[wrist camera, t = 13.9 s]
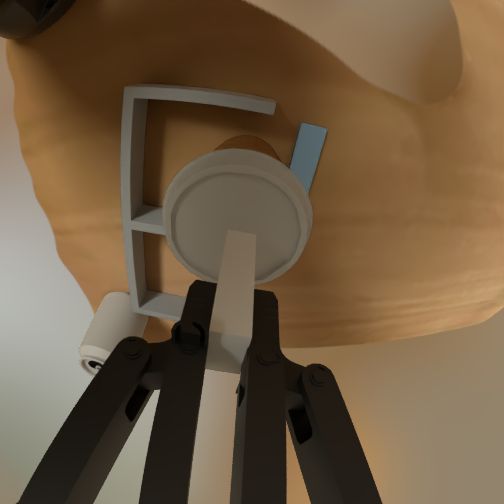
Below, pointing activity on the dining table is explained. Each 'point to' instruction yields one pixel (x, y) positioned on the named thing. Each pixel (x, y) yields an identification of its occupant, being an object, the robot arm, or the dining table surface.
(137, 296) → the comb rack
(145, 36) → the dining table surface
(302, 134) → the blue rectangular block
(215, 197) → the disposable coffee cup
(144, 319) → the can
